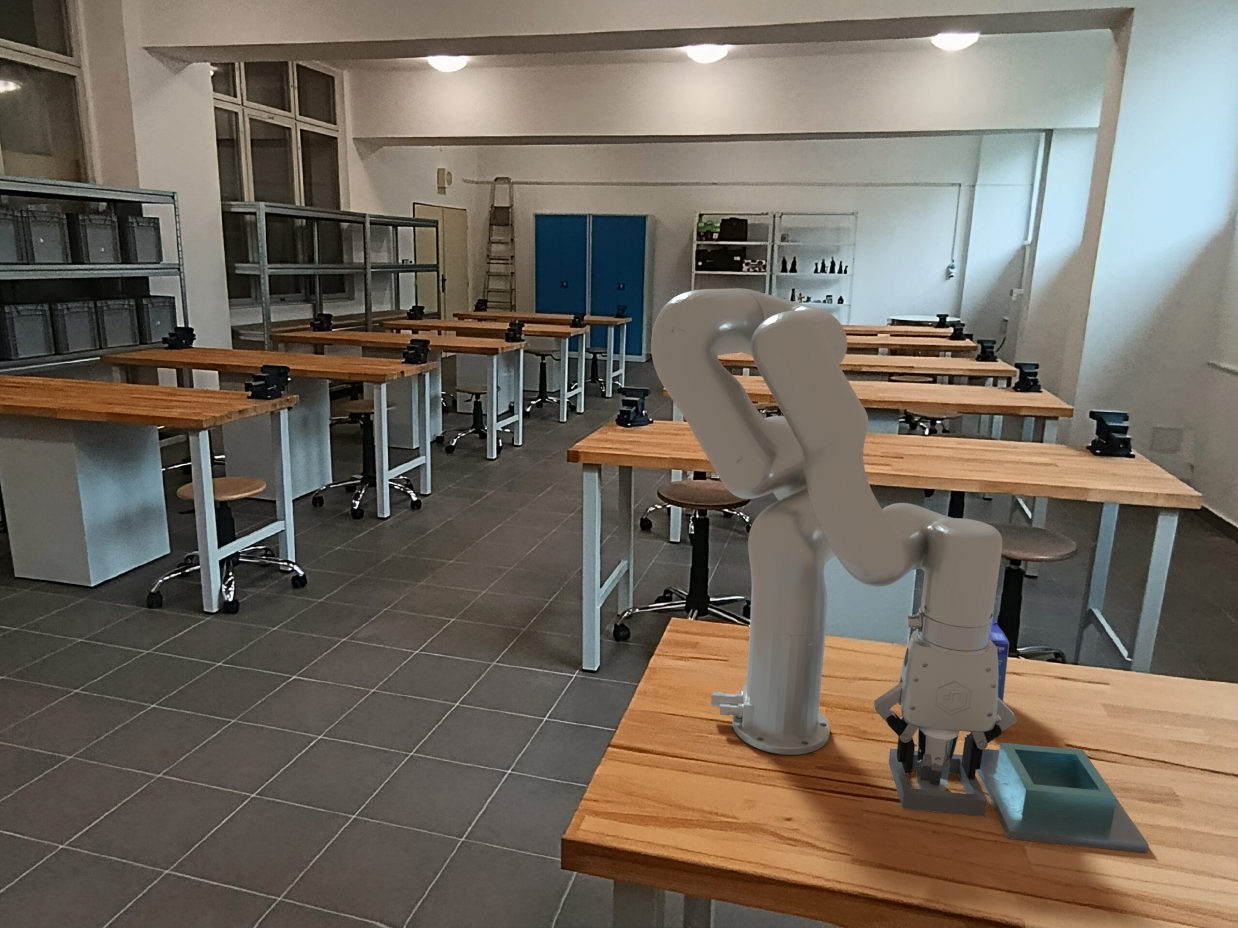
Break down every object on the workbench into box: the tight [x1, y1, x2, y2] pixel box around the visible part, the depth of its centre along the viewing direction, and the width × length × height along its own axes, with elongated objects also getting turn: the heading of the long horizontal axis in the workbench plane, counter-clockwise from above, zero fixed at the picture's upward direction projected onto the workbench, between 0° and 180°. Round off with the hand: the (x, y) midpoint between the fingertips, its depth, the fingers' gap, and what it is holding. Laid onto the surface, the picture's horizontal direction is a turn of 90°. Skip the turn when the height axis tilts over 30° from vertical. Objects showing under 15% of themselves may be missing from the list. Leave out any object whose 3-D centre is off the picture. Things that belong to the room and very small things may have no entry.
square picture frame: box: [888, 747, 988, 818], centre depth 99 cm, size 9×9×2 cm
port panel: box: [976, 742, 1150, 854], centre depth 97 cm, size 14×16×4 cm
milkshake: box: [915, 727, 960, 792], centre depth 98 cm, size 4×5×10 cm
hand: (936, 768), depth 99 cm, fingers open, 6 cm apart
